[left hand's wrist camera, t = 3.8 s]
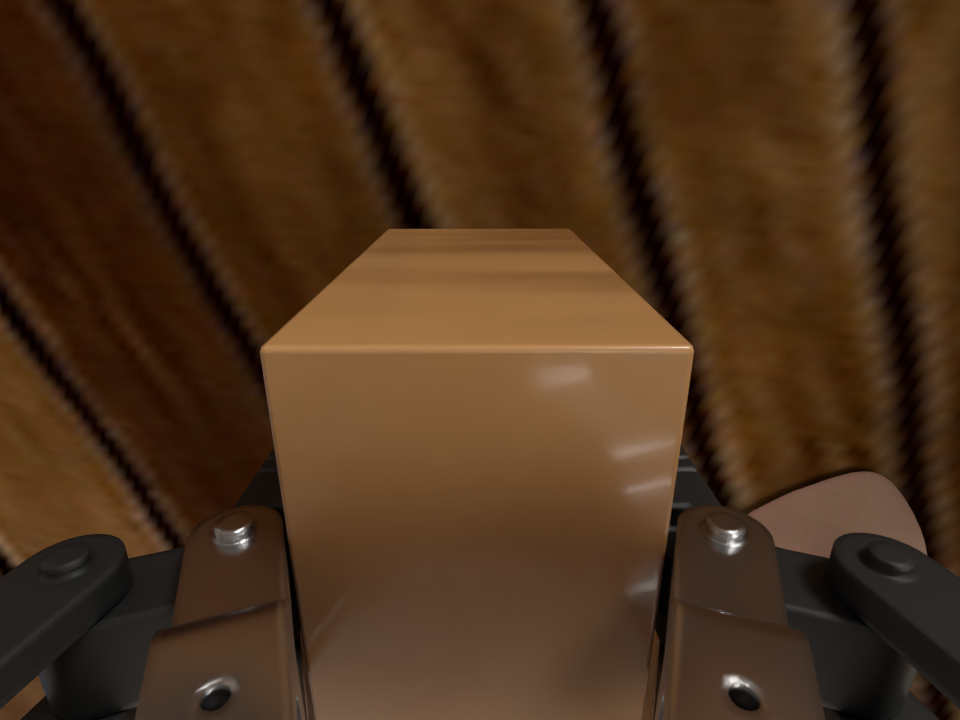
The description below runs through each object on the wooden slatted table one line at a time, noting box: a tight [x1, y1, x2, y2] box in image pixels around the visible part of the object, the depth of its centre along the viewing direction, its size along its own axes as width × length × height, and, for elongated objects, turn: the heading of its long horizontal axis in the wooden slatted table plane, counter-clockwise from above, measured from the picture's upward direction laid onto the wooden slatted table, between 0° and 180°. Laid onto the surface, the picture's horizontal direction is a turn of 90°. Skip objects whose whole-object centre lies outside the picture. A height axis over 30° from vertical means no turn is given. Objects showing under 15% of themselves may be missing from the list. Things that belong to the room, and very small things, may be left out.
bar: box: [260, 229, 694, 720], centre depth 15 cm, size 24×5×10 cm, turn 0°
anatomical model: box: [747, 471, 927, 558], centre depth 26 cm, size 13×4×12 cm
